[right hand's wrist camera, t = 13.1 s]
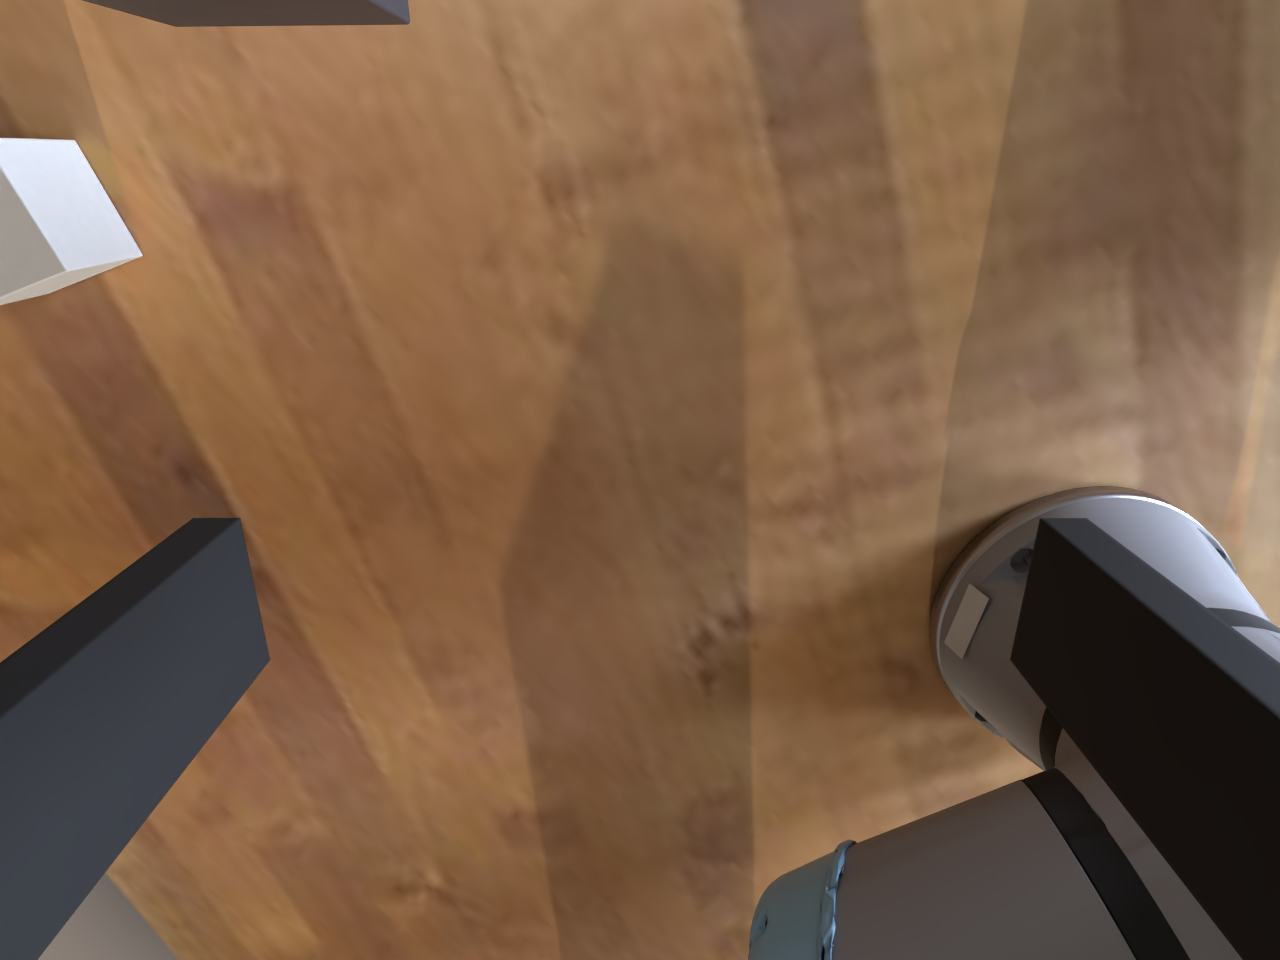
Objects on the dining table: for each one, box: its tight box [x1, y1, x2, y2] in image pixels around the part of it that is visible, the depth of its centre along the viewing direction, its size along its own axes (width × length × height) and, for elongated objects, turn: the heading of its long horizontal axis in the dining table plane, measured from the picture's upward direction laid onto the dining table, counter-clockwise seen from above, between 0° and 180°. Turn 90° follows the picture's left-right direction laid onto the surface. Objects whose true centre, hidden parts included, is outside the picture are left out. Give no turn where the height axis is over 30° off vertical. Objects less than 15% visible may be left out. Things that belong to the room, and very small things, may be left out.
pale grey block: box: [0, 138, 143, 305], centre depth 31 cm, size 5×5×5 cm
